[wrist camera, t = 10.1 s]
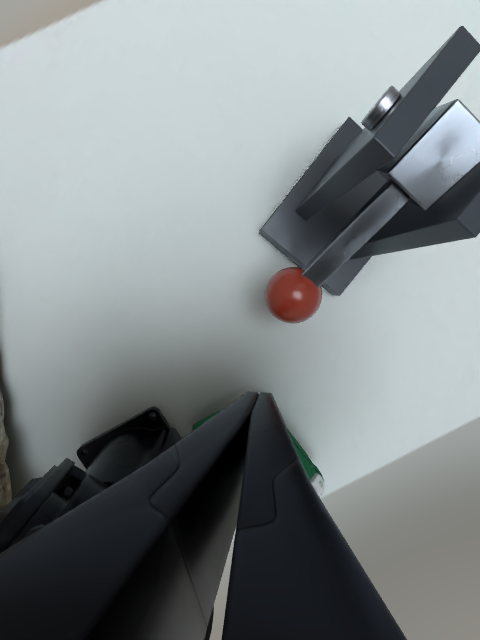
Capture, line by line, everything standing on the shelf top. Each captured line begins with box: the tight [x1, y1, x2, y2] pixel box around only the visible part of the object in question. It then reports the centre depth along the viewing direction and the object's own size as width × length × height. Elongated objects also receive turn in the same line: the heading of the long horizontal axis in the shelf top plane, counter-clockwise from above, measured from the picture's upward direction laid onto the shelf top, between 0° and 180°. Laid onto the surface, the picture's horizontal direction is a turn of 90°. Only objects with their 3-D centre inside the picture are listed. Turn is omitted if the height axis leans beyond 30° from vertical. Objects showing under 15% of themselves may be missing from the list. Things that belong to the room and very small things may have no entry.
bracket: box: [259, 26, 480, 296], centre depth 15 cm, size 9×7×11 cm
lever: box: [265, 99, 480, 323], centre depth 13 cm, size 11×3×3 cm, turn 141°
